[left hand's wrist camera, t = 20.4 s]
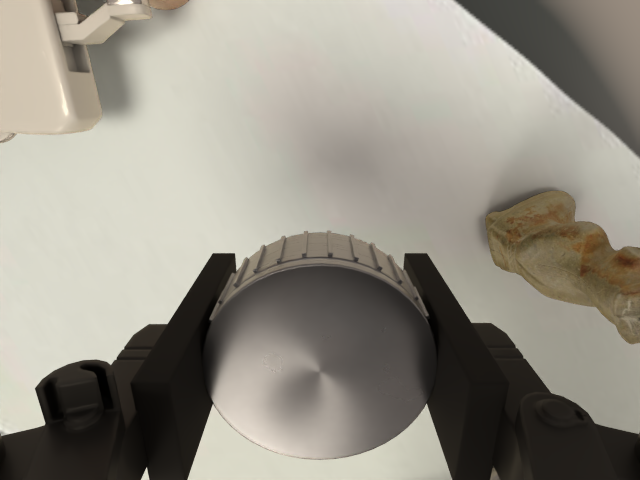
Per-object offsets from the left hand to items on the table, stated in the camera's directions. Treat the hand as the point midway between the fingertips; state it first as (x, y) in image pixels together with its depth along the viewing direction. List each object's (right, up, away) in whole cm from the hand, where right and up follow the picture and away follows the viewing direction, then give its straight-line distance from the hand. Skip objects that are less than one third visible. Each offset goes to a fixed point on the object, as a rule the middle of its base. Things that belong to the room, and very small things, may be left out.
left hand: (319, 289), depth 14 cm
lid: (0, -1, -4) cm, 4 cm away
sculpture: (+16, +3, +20) cm, 26 cm away
